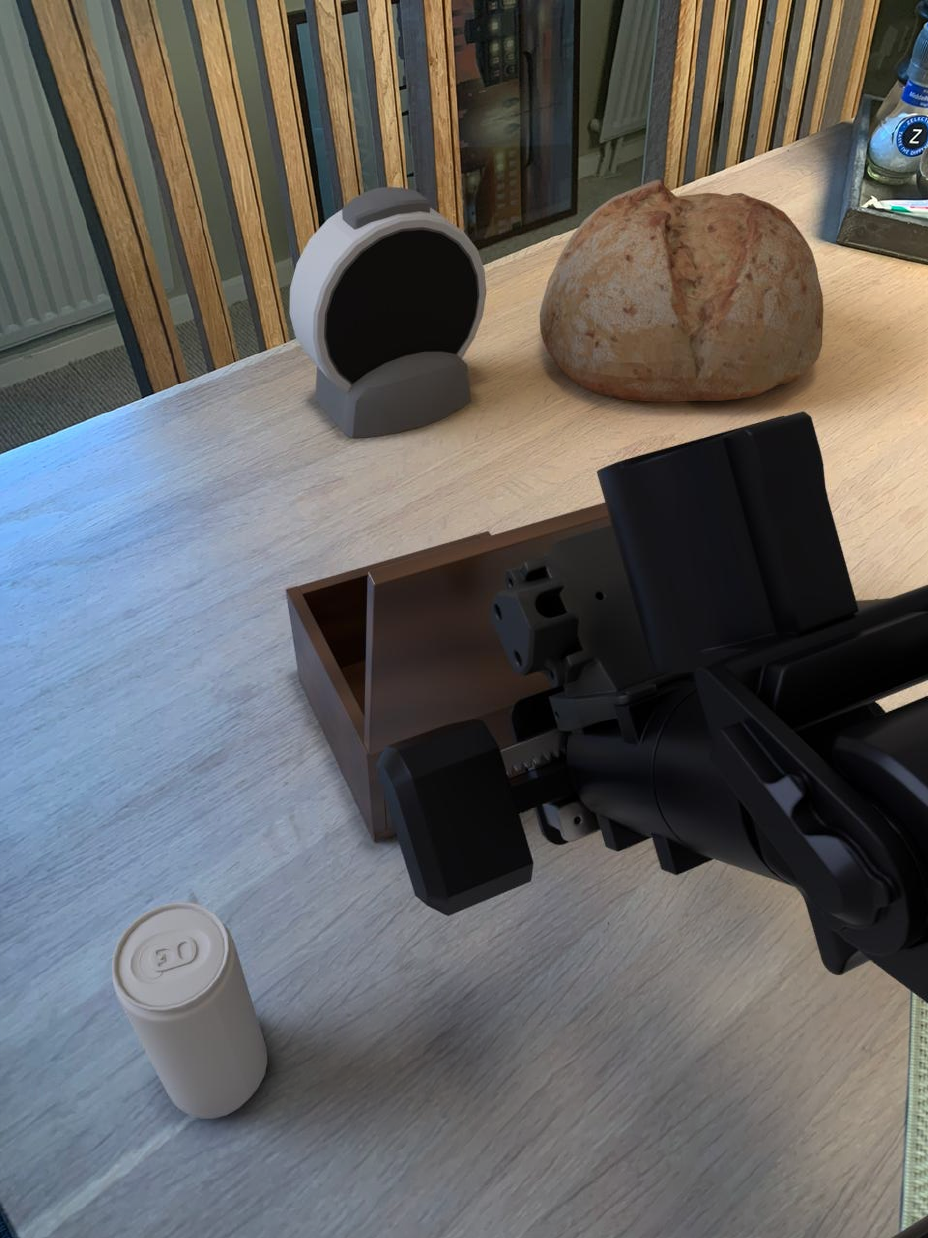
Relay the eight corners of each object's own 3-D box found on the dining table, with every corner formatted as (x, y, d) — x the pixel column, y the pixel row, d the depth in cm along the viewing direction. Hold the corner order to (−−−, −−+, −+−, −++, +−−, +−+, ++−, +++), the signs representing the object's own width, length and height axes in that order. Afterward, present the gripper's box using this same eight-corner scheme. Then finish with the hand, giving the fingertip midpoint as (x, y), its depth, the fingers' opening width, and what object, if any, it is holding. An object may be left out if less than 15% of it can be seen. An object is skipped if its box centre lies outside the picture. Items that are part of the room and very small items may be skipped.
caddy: (299, 680, 65) (285, 589, 60) (484, 621, 70) (488, 530, 64) (374, 843, 57) (366, 754, 51) (580, 764, 61) (595, 674, 55)
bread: (796, 305, 103) (837, 156, 93) (831, 432, 87) (885, 268, 76) (543, 288, 105) (554, 140, 94) (530, 410, 89) (542, 247, 78)
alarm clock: (336, 453, 83) (318, 241, 71) (287, 395, 90) (262, 190, 77) (499, 401, 89) (509, 198, 77) (442, 350, 96) (443, 154, 83)
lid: (366, 570, 39) (374, 585, 39) (656, 486, 44) (665, 499, 43) (363, 743, 51) (369, 756, 50) (593, 663, 55) (600, 674, 55)
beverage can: (159, 1040, 49) (101, 920, 40) (257, 1007, 50) (220, 883, 41) (175, 1139, 46) (115, 1032, 37) (279, 1101, 47) (244, 988, 38)
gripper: (892, 455, 34) (662, 517, 49) (385, 610, 28) (299, 627, 43) (975, 763, 35) (724, 732, 49) (496, 978, 29) (374, 869, 44)
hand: (541, 734), depth 46 cm, fingers closed
